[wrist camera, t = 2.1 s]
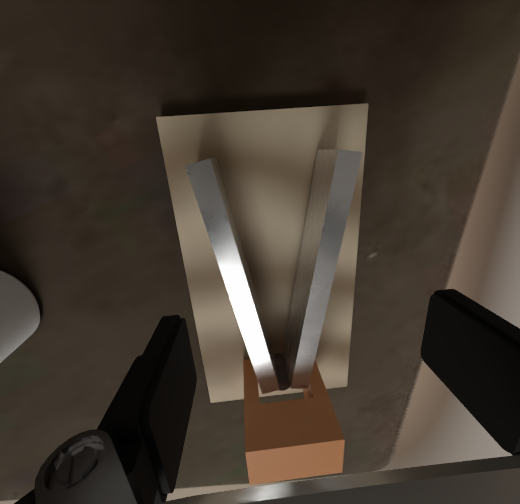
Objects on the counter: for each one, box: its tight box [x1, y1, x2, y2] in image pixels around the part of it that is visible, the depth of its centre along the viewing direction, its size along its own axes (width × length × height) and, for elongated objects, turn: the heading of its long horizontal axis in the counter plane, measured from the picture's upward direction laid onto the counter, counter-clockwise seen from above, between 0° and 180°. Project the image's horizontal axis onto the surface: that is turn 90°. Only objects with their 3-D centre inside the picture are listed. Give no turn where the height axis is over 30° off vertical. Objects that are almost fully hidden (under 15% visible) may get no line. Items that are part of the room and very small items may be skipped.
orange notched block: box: [243, 359, 345, 485], centre depth 18 cm, size 3×6×7 cm, turn 94°
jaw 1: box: [185, 157, 280, 394], centre depth 16 cm, size 15×1×3 cm, turn 14°
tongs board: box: [156, 103, 368, 403], centre depth 18 cm, size 22×12×4 cm, turn 4°
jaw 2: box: [283, 149, 363, 389], centre depth 16 cm, size 15×1×3 cm, turn 174°
